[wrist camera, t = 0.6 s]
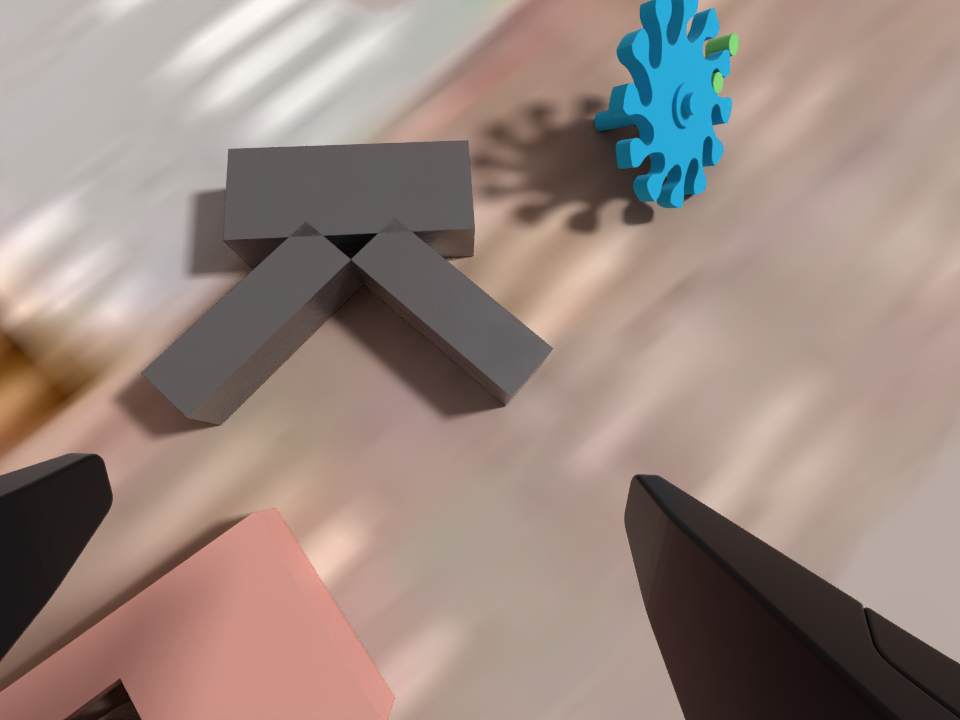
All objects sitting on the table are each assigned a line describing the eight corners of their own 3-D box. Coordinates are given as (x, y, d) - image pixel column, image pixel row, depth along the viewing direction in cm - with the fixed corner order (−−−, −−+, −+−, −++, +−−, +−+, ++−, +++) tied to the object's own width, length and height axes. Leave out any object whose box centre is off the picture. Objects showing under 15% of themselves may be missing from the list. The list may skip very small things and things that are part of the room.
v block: (546, 403, 25) (558, 393, 22) (176, 428, 24) (136, 421, 21) (522, 173, 28) (529, 138, 25) (195, 186, 27) (162, 151, 24)
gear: (665, 246, 25) (610, 41, 19) (577, 242, 30) (513, 74, 24) (761, 135, 29) (739, -64, 23) (670, 147, 33) (633, -18, 28)
